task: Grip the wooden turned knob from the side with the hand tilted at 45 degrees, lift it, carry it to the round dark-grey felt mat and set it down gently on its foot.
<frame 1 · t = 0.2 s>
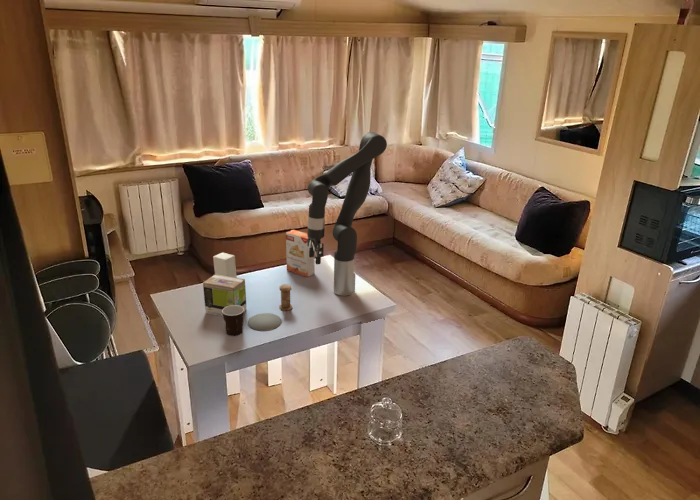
hand: (314, 260, 243), 18 cm above the table, tool pointing down, fingers open, 8 cm apart
skincare box: (226, 286, 257), on the table
cracker box: (300, 272, 274), on the table
tea box: (226, 311, 234), on the table
wooden turned knob: (285, 307, 238), on the table
felt mat: (264, 322, 226), on the table
coffee mug: (233, 334, 217), on the table
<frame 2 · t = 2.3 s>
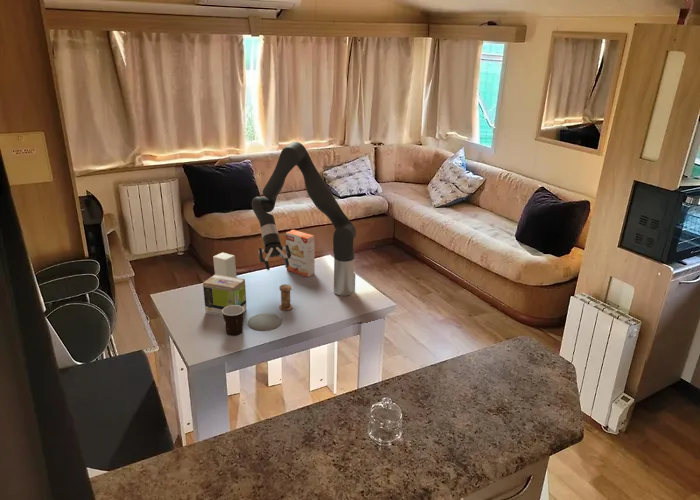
hand: (278, 268, 242), 14 cm above the table, tool tilted 45°, fingers open, 8 cm apart
nothing on the table moved.
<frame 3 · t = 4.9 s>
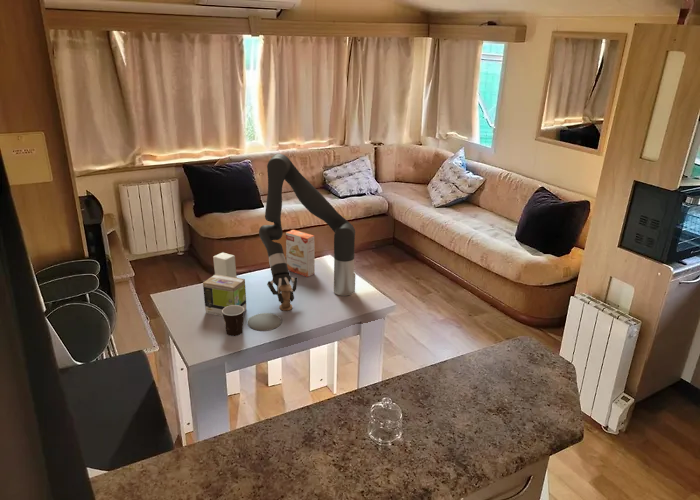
hand: (287, 301, 235), 4 cm above the table, tool tilted 45°, fingers closed on wooden turned knob, 4 cm apart
wooden turned knob: (285, 307, 238), on the table, touching gripper
everything else where it was.
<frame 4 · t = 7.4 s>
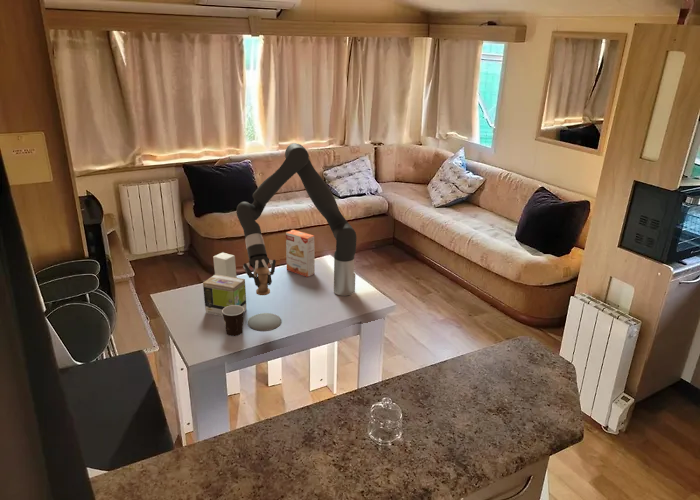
hand: (264, 285, 218), 18 cm above the table, tool tilted 45°, fingers closed on wooden turned knob, 4 cm apart
wooden turned knob: (263, 292, 221), point 14 cm above the table, touching gripper
everything else where it was.
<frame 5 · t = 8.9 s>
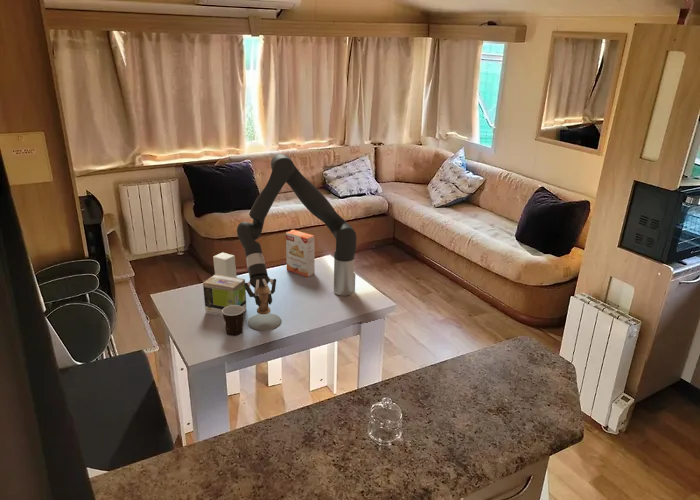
hand: (264, 304, 221), 9 cm above the table, tool tilted 45°, fingers closed on wooden turned knob, 4 cm apart
wooden turned knob: (263, 311, 224), point 5 cm above the table, touching gripper
everything else where it was.
when the fingers open (5 cm above the table, at t = 10.0 s): wooden turned knob stays where it is, resting on felt mat.
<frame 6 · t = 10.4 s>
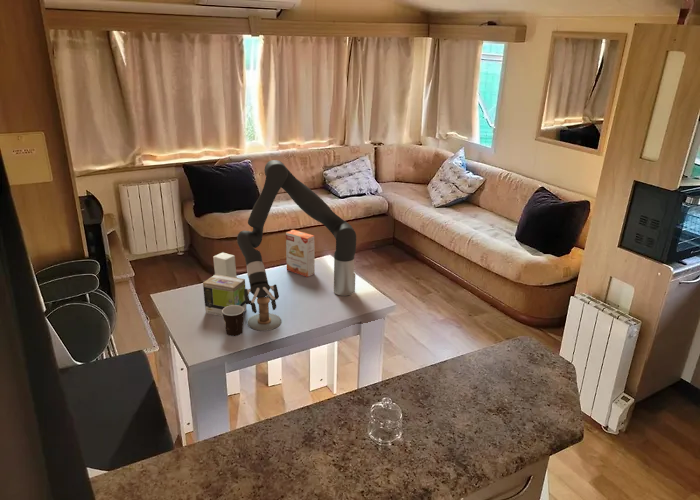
hand: (265, 310, 223), 6 cm above the table, tool tilted 45°, fingers open, 7 cm apart
wooden turned knob: (264, 321, 226), resting on felt mat
everything else where it was.
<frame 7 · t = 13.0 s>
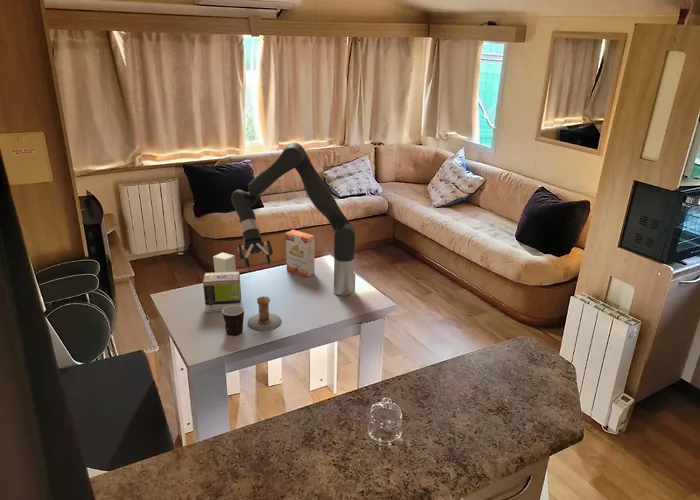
hand: (258, 265, 230), 20 cm above the table, tool tilted 45°, fingers open, 8 cm apart
tea box: (223, 306, 238), on the table
everything else where it was.
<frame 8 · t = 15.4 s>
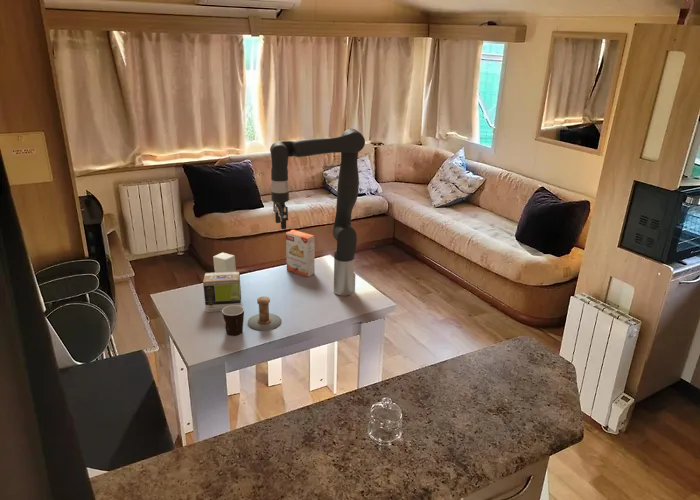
hand: (280, 225, 236), 34 cm above the table, tool pointing down, fingers open, 8 cm apart
nothing on the table moved.
at the end: wooden turned knob inside the target area on the felt mat (0.2 cm from its centre), point 0.4 cm above the felt mat's base; wooden turned knob tilted 0°; the gripper is holding nothing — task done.
